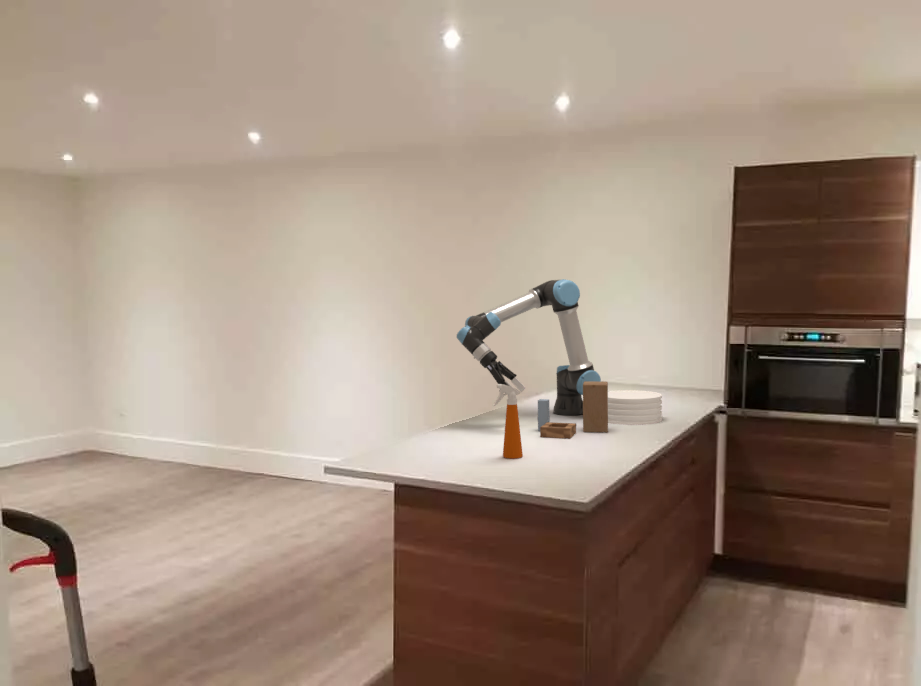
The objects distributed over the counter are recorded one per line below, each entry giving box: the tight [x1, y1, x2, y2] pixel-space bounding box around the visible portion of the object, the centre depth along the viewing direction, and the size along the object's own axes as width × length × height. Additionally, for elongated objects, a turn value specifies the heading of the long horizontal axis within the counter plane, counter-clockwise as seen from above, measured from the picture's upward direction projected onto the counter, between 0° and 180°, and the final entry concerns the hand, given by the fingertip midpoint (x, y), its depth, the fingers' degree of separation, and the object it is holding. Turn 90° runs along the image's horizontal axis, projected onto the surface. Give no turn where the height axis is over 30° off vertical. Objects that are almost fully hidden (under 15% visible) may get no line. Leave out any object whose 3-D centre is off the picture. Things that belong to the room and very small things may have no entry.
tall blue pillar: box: [537, 398, 551, 432], centre depth 314 cm, size 4×4×13 cm
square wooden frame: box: [539, 421, 577, 440], centre depth 304 cm, size 12×12×4 cm
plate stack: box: [608, 389, 663, 426], centre depth 338 cm, size 28×28×12 cm
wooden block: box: [582, 381, 609, 433], centre depth 312 cm, size 10×10×20 cm
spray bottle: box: [492, 383, 524, 460], centre depth 265 cm, size 7×11×26 cm, turn 111°
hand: (519, 392), depth 317 cm, fingers open, 13 cm apart
